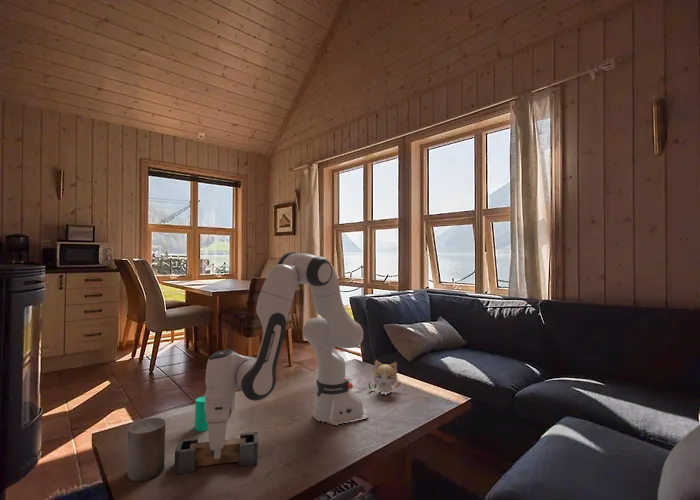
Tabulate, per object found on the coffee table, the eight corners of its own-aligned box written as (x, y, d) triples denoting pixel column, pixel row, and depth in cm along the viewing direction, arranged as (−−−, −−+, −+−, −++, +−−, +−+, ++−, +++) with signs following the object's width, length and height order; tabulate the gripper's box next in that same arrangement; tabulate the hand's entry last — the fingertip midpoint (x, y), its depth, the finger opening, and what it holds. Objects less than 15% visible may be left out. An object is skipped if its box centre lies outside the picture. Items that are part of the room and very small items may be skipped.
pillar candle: (170, 462, 111) (171, 413, 111) (154, 482, 101) (155, 428, 102) (138, 462, 111) (139, 413, 111) (118, 482, 101) (120, 428, 101)
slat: (245, 455, 115) (245, 437, 115) (244, 460, 112) (245, 442, 112) (190, 461, 111) (191, 443, 111) (189, 467, 108) (189, 448, 108)
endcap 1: (174, 475, 105) (174, 452, 105) (178, 460, 112) (179, 439, 112) (194, 472, 106) (194, 450, 106) (197, 458, 113) (198, 437, 114)
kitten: (366, 395, 169) (367, 363, 169) (370, 387, 179) (371, 357, 179) (398, 399, 165) (399, 366, 166) (400, 391, 175) (401, 360, 175)
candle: (206, 432, 130) (207, 398, 130) (191, 430, 131) (192, 397, 132) (215, 424, 136) (216, 392, 136) (201, 422, 137) (202, 390, 137)
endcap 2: (256, 451, 118) (257, 431, 118) (257, 464, 111) (258, 443, 111) (239, 454, 117) (240, 433, 117) (239, 467, 110) (239, 445, 110)
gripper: (212, 392, 121) (211, 433, 121) (205, 419, 101) (203, 469, 101) (232, 390, 123) (231, 431, 123) (229, 417, 103) (227, 466, 103)
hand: (218, 448), depth 112 cm, fingers open, 8 cm apart
